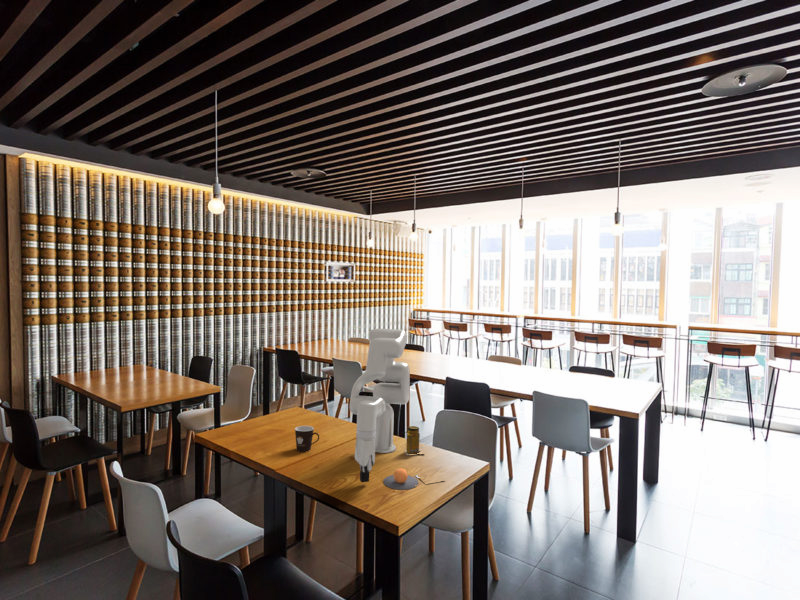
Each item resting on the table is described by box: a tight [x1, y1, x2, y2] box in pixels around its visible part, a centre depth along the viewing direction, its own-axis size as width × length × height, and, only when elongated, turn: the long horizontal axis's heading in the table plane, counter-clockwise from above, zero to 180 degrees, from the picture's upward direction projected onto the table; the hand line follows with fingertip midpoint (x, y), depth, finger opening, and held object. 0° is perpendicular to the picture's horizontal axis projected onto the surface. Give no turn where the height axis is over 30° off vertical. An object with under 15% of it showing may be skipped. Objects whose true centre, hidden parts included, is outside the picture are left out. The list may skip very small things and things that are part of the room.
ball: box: [393, 467, 408, 483], centre depth 170 cm, size 6×6×6 cm
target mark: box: [383, 474, 420, 491], centre depth 170 cm, size 14×14×1 cm
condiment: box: [404, 425, 420, 456], centre depth 204 cm, size 7×8×12 cm
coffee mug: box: [294, 425, 320, 453], centre depth 202 cm, size 12×9×10 cm
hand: (364, 481), depth 166 cm, fingers closed
